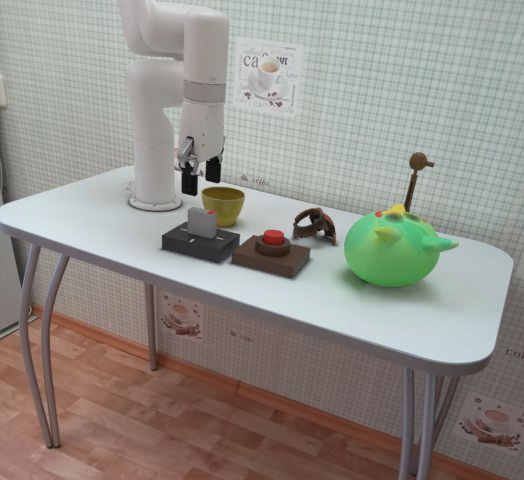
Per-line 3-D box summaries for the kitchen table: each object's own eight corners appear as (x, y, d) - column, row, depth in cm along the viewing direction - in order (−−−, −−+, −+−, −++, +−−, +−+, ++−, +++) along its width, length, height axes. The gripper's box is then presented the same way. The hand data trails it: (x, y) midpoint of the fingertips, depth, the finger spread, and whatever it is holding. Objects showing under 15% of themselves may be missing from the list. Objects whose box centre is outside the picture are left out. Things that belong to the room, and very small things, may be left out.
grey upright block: (187, 233, 105) (187, 208, 102) (192, 230, 107) (192, 205, 104) (211, 238, 104) (212, 213, 101) (216, 235, 106) (217, 210, 103)
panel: (161, 249, 105) (161, 234, 103) (185, 234, 113) (185, 220, 111) (218, 263, 101) (219, 248, 100) (239, 247, 109) (240, 233, 108)
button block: (231, 263, 102) (232, 242, 100) (252, 245, 111) (254, 225, 108) (292, 278, 99) (294, 257, 96) (309, 259, 107) (312, 238, 105)
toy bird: (411, 265, 109) (429, 197, 101) (445, 303, 95) (469, 228, 87) (329, 263, 106) (342, 193, 98) (353, 302, 92) (369, 224, 84)
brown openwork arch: (339, 252, 113) (328, 222, 107) (299, 264, 116) (286, 235, 111) (339, 221, 121) (328, 192, 115) (301, 233, 124) (289, 204, 119)
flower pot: (228, 234, 115) (230, 203, 111) (191, 223, 119) (192, 192, 115) (251, 222, 122) (253, 193, 119) (215, 212, 126) (217, 183, 122)
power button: (260, 243, 101) (261, 234, 100) (267, 237, 104) (268, 228, 103) (278, 247, 100) (279, 238, 99) (285, 241, 103) (286, 232, 102)
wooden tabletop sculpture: (415, 240, 122) (438, 153, 111) (410, 246, 119) (433, 157, 108) (391, 234, 124) (412, 148, 113) (385, 239, 121) (406, 151, 110)
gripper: (208, 84, 99) (204, 173, 108) (160, 94, 85) (161, 195, 95) (243, 90, 97) (236, 181, 107) (200, 102, 83) (197, 204, 93)
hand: (201, 188), depth 101 cm, fingers open, 9 cm apart
